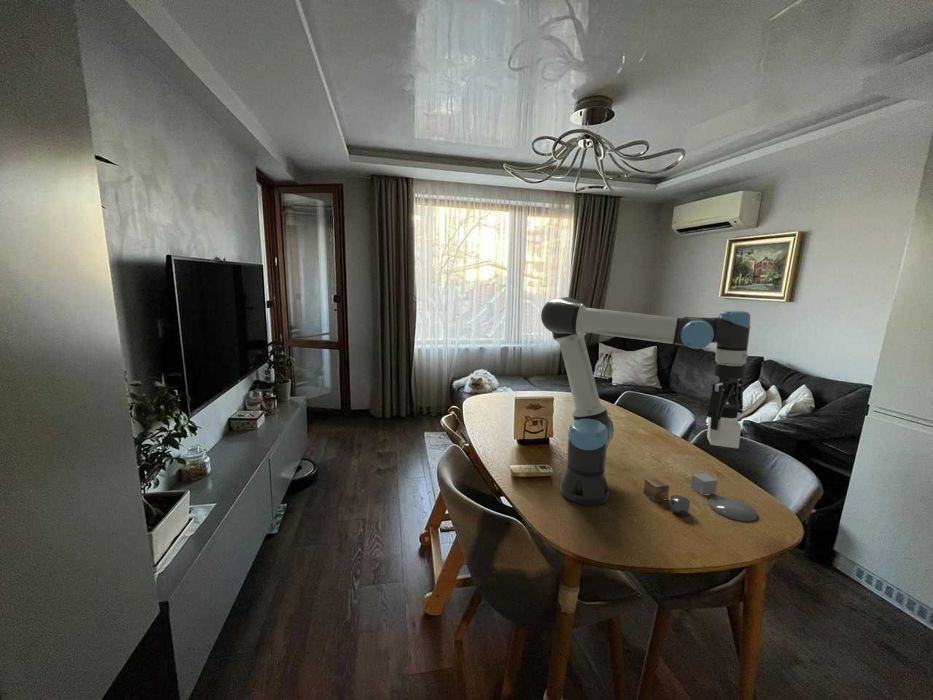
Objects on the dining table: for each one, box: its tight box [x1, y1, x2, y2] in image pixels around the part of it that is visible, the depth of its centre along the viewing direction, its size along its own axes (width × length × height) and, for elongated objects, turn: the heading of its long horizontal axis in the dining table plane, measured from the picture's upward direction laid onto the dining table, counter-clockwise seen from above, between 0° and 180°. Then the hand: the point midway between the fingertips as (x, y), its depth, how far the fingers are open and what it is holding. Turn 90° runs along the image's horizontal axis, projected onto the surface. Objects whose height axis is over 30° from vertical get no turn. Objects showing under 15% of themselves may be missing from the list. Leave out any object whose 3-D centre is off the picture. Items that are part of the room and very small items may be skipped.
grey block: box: [690, 472, 718, 496], centre depth 127 cm, size 5×5×5 cm
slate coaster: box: [708, 496, 758, 522], centre depth 116 cm, size 12×12×1 cm
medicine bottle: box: [706, 402, 742, 449], centre depth 115 cm, size 7×7×12 cm
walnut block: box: [643, 477, 670, 502], centre depth 123 cm, size 5×5×5 cm
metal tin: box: [669, 494, 691, 518], centre depth 114 cm, size 5×5×4 cm
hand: (723, 436), depth 116 cm, fingers closed on medicine bottle, 10 cm apart
